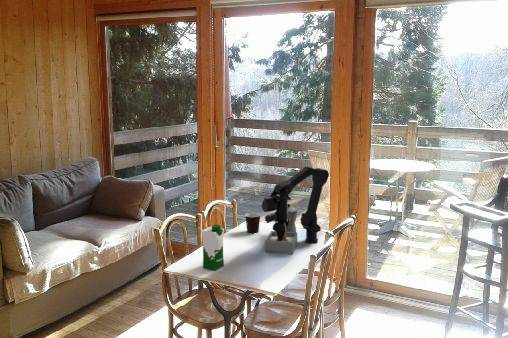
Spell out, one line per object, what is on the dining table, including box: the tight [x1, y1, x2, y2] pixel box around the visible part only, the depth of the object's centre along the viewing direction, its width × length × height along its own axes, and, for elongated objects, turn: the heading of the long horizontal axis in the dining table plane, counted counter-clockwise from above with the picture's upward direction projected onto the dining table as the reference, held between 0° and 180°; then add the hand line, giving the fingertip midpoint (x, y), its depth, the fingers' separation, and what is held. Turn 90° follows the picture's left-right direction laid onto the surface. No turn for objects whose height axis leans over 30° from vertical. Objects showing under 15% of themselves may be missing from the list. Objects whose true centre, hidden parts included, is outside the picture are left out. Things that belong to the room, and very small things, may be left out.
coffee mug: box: [244, 212, 261, 235], centre depth 268 cm, size 12×9×10 cm
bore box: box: [264, 230, 298, 255], centre depth 244 cm, size 16×14×6 cm
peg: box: [277, 231, 286, 241], centre depth 243 cm, size 4×4×9 cm
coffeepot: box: [286, 203, 298, 233], centre depth 263 cm, size 15×9×18 cm, turn 29°
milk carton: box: [200, 224, 225, 272], centre depth 219 cm, size 9×9×20 cm
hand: (281, 238), depth 244 cm, fingers open, 9 cm apart
